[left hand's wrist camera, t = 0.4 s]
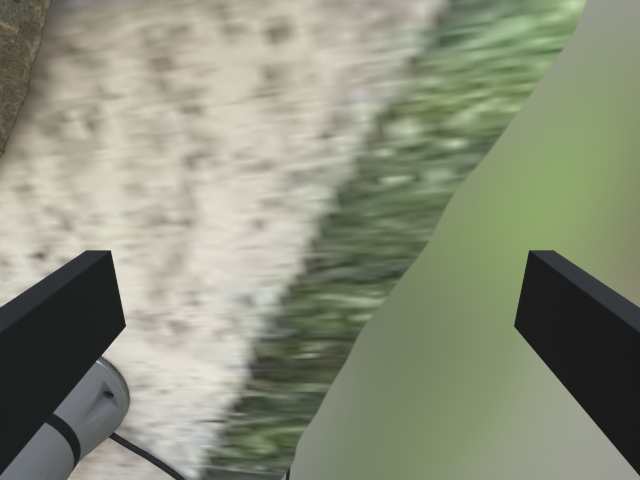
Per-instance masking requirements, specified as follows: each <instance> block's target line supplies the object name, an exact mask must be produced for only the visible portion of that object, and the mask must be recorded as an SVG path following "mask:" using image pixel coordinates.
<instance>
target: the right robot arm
mask: <svg viewBox="0 0 640 480" xmlns="http://www.w3.org/2000/svg"><path fill="white" fill-rule="evenodd" d="M128 408H129V391H128V388H127V385H126V383H125V381H124V379H123V377H122V376H121V374H120V373H119V372H118V371H117V370H116V368H115V367H114V366H113V365H112V364H110V363H109V362H108V361H107V360H105V359H104V358H102V357H100V358H99V359H98V360H97V361H96V362H95V364H94V365H93V366H92V367H91V368H90V370H89V371H88V372H87V373H86V374H85V376H84V377H83V378H82V379H81V380H80V382H79V383H78V384H77V385H76V386H75V387H74V389H73V390H72V391H71V392H70V393H69V395H68V396H67V397H66V398H65V399H64V401H63V402H62V403H61V404H60V405H59V407H58V408H57V409H56V410H55V411H54V413H53V414H52V415H51V416H50V417H49V418H48V420H47V421H46V422H45V423H44V424H43V426H42V427H41V428H40V429H39V430H38V432H37V433H36V434H35V435H34V436H33V438H32V439H31V440H30V441H29V442H28V444H27V445H26V446H25V447H24V448H23V449H22V451H21V452H20V453H19V454H18V455H17V457H16V458H15V459H14V460H13V461H12V463H11V464H10V465H9V466H8V467H7V469H6V470H5V471H4V472H3V473H2V474H1V476H0V480H67V479H68V477H69V476H70V474H71V473H72V471H73V470H74V468H75V467H76V465H77V464H78V462H79V461H80V460H81V459H82V458H84V457H85V456H86V455H87V454H88V453H90V452H91V451H92V450H93V449H95V448H96V447H97V446H98V445H99V444H101V443H102V442H103V441H104V440H105V439H107V438H108V437H109V438H111V439H113V440H114V441H116V442H117V443H119V444H121V445H122V446H124V447H126V448H127V449H129V450H131V451H132V452H134V453H136V454H138V455H140V456H141V457H143V458H145V459H147V460H148V461H150V462H151V463H153V464H154V465H156V466H157V467H159V468H160V469H162V470H163V471H165V472H166V473H168V474H169V475H171V476H172V477H173V478H174V479H176V480H185V479H184V478H183V477H182V476H181V475H179V474H178V473H177V472H176V471H174V470H173V469H172V468H170V467H169V466H167V465H166V464H164V463H163V462H161V461H160V460H158V459H157V458H155V457H154V456H152V455H151V454H149V453H147V452H146V451H144V450H142V449H140V448H139V447H137V446H135V445H133V444H132V443H130V442H128V441H127V440H125V439H124V438H122V437H120V436H119V435H117V434H116V433H114V431H115V430H116V429H117V428H118V426H119V425H120V423H121V422H122V420H123V419H124V417H125V415H126V413H127V411H128ZM289 477H290V468H289V470H288V471H287V473H286V480H289Z"/></svg>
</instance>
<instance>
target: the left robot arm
mask: <svg viewBox="0 0 640 480" xmlns="http://www.w3.org/2000/svg"><path fill="white" fill-rule="evenodd" d="M125 327H126V324H125V319H124V314H123V309H122V304H121V299H120V294H119V289H118V284H117V279H116V274H115V269H114V264H113V259H112V254H111V250H86V251H85V252H83V253H82V254H80V255H79V256H77V257H76V258H74V259H73V260H71V261H70V262H68V263H67V264H65V265H64V266H62V267H61V268H59V269H58V270H56V271H55V272H53V273H52V274H50V275H49V276H47V277H46V278H44V279H43V280H41V281H40V282H38V283H37V284H35V285H34V286H32V287H31V288H29V289H28V290H26V291H25V292H23V293H22V294H20V295H19V296H17V297H16V298H14V299H13V300H11V301H10V302H8V303H7V304H5V305H4V306H2V307H1V308H0V476H1V474H2V473H3V472H4V471H5V470H6V469H7V467H8V466H9V465H10V464H11V463H12V461H13V460H14V459H15V458H16V457H17V455H18V454H19V453H20V452H21V451H22V449H23V448H24V447H25V446H26V445H27V444H28V442H29V441H30V440H31V439H32V438H33V436H34V435H35V434H36V433H37V432H38V430H39V429H40V428H41V427H42V426H43V424H44V423H45V422H46V421H47V420H48V418H49V417H50V416H51V415H52V414H53V413H54V411H55V410H56V409H57V408H58V407H59V405H60V404H61V403H62V402H63V401H64V399H65V398H66V397H67V396H68V395H69V393H70V392H71V391H72V390H73V389H74V387H75V386H76V385H77V384H78V383H79V382H80V380H81V379H82V378H83V377H84V376H85V374H86V373H87V372H88V371H89V370H90V368H91V367H92V366H93V365H94V364H95V362H96V361H97V360H98V359H99V358H100V357H101V355H102V354H103V353H104V352H105V351H106V349H107V348H108V347H109V346H110V345H111V343H112V342H113V341H114V340H115V339H116V337H117V336H118V335H119V334H120V333H121V331H122V330H123V329H124V328H125ZM514 327H515V328H516V329H517V330H518V331H519V333H520V334H521V335H522V336H523V337H524V339H525V340H526V341H527V342H528V343H529V345H530V346H531V347H532V348H533V349H534V351H535V352H536V353H537V354H538V355H539V356H540V358H541V359H542V360H543V361H544V362H545V364H546V365H547V366H548V367H549V368H550V370H551V371H552V372H553V373H554V374H555V376H556V377H557V378H558V379H559V380H560V382H561V383H562V384H563V385H564V386H565V387H566V389H567V390H568V391H569V392H570V393H571V395H572V396H573V397H574V398H575V399H576V401H577V402H578V403H579V404H580V405H581V407H582V408H583V409H584V410H585V411H586V413H587V414H588V415H589V416H590V417H591V418H592V420H593V421H594V422H595V423H596V424H597V426H598V427H599V428H600V429H601V430H602V432H603V433H604V434H605V435H606V436H607V438H608V439H609V440H610V441H611V442H612V444H613V445H614V446H615V447H616V448H617V449H618V451H619V452H620V453H621V454H622V455H623V457H624V458H625V459H626V460H627V461H628V463H629V464H630V465H631V466H632V467H633V469H634V470H635V471H636V472H637V473H638V474H639V476H640V308H639V307H638V306H636V305H635V304H633V303H632V302H630V301H629V300H627V299H626V298H624V297H623V296H621V295H620V294H618V293H617V292H615V291H614V290H612V289H611V288H609V287H608V286H606V285H605V284H603V283H602V282H600V281H599V280H597V279H596V278H594V277H593V276H591V275H590V274H588V273H587V272H585V271H584V270H582V269H581V268H579V267H578V266H576V265H575V264H573V263H572V262H570V261H569V260H567V259H566V258H564V257H563V256H561V255H560V254H558V253H557V252H555V251H553V250H552V251H551V250H543V251H542V250H538V251H537V250H535V251H534V250H532V251H529V254H528V259H527V264H526V269H525V274H524V279H523V284H522V289H521V294H520V299H519V304H518V309H517V314H516V319H515V324H514Z"/></svg>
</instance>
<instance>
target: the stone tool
mask: <svg viewBox="0 0 640 480" xmlns="http://www.w3.org/2000/svg"><path fill="white" fill-rule="evenodd" d="M50 2H51V0H0V157H1V156H2V155H3V154H4V148H5V146H6V141H7V139H8V137H9V133H10V131H11V130H12V128H13V125H14V122H15V118H16V115H17V112H18V109H19V107H21V106H22V105H23V101H24V98H25V97H26V96H27V87H28V85H29V82H30V70H31V66H32V64H33V62H34V60H35V57H36V54H37V48H38V47H39V45H40V44H41V31H42V28H43V26H44V25H45V17H46V12H47V10H48V8H49V6H50Z"/></svg>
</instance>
